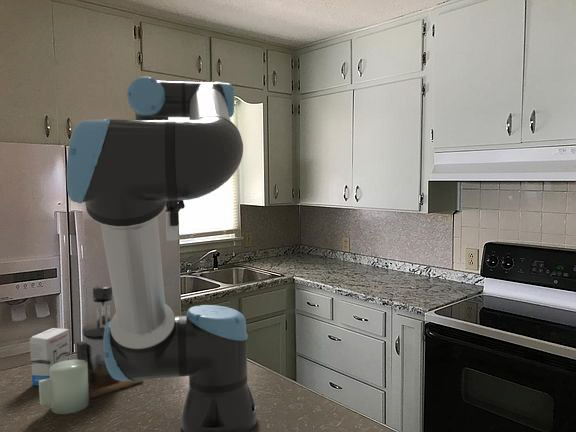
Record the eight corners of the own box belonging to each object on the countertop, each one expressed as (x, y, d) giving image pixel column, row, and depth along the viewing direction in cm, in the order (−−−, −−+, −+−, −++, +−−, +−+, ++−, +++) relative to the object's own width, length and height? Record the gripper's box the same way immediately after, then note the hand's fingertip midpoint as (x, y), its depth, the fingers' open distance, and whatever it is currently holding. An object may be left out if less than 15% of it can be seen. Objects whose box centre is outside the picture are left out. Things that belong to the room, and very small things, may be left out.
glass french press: (143, 381, 120) (140, 307, 118) (90, 398, 111) (86, 318, 109) (120, 366, 129) (117, 297, 128) (69, 381, 120) (65, 307, 119)
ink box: (49, 387, 117) (46, 339, 116) (31, 385, 118) (28, 337, 117) (71, 373, 126) (69, 328, 125) (54, 371, 126) (52, 327, 126)
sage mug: (94, 405, 107) (93, 365, 107) (47, 421, 101) (44, 379, 100) (81, 394, 113) (79, 356, 112) (35, 409, 106) (33, 368, 105)
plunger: (116, 324, 119) (115, 287, 118) (98, 328, 116) (97, 290, 115) (108, 320, 122) (107, 284, 121) (91, 324, 119) (89, 287, 118)
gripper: (198, 145, 110) (201, 240, 111) (138, 152, 126) (141, 234, 127) (170, 143, 104) (173, 243, 105) (111, 151, 121) (114, 237, 122)
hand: (155, 238), depth 116 cm, fingers open, 13 cm apart
